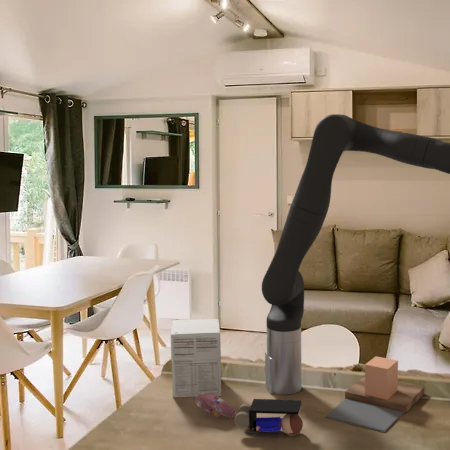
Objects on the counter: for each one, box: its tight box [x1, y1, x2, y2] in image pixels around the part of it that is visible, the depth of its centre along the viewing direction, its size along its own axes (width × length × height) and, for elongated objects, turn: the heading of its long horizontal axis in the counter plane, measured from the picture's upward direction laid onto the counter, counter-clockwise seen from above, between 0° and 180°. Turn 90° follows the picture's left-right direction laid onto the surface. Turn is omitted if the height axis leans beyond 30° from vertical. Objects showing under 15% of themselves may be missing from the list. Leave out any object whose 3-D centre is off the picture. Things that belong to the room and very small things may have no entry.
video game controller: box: [194, 392, 237, 419], centre depth 158 cm, size 10×5×7 cm
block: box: [364, 356, 399, 400], centre depth 164 cm, size 7×6×8 cm
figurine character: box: [234, 398, 304, 437], centre depth 148 cm, size 7×8×15 cm
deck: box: [344, 376, 425, 414], centre depth 167 cm, size 14×16×2 cm
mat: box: [324, 398, 404, 433], centre depth 156 cm, size 12×15×1 cm
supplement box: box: [170, 318, 222, 398], centre depth 175 cm, size 13×13×18 cm
